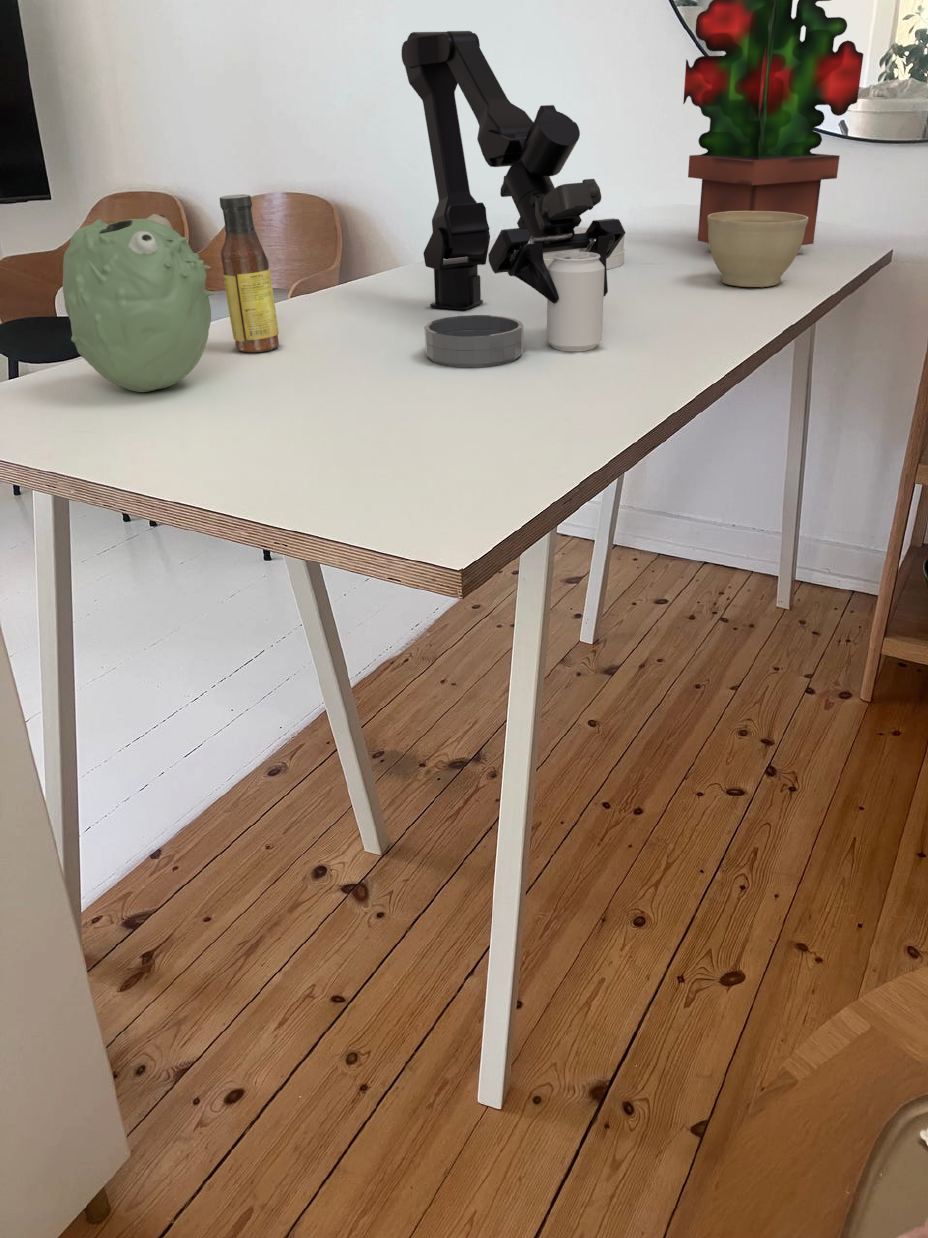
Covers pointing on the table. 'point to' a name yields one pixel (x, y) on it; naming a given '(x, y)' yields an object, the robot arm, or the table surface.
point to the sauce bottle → (247, 279)
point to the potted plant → (767, 105)
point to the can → (576, 301)
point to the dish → (611, 262)
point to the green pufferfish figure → (136, 301)
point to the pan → (474, 340)
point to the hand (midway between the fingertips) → (581, 297)
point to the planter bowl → (754, 245)
